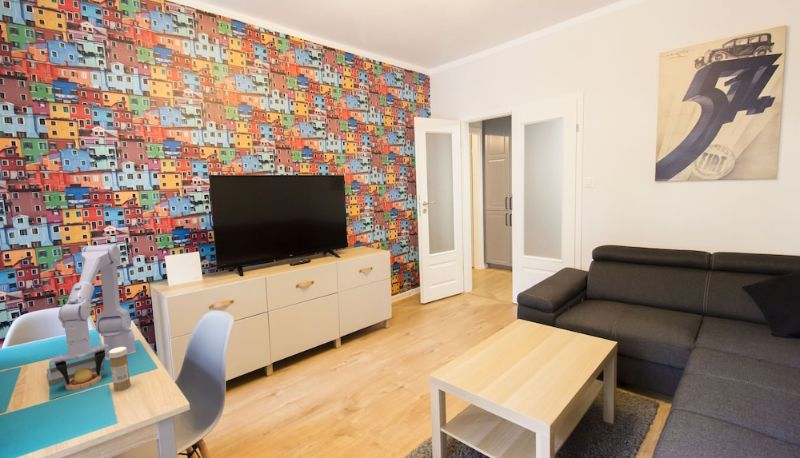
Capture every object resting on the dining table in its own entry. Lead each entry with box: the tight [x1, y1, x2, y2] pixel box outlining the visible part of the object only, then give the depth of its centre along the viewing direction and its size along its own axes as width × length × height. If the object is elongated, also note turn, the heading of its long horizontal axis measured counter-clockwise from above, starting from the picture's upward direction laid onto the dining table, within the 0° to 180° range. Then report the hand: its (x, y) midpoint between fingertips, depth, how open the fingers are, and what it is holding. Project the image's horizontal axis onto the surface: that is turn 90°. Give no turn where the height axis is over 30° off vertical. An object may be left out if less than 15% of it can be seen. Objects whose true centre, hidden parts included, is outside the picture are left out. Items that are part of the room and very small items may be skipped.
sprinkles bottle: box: [109, 347, 132, 393], centre depth 118 cm, size 5×5×13 cm
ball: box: [73, 367, 93, 384], centre depth 123 cm, size 5×5×5 cm
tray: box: [46, 356, 105, 387], centre depth 130 cm, size 14×12×2 cm
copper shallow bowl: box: [64, 372, 103, 391], centre depth 123 cm, size 9×9×2 cm
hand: (83, 378), depth 123 cm, fingers open, 7 cm apart
